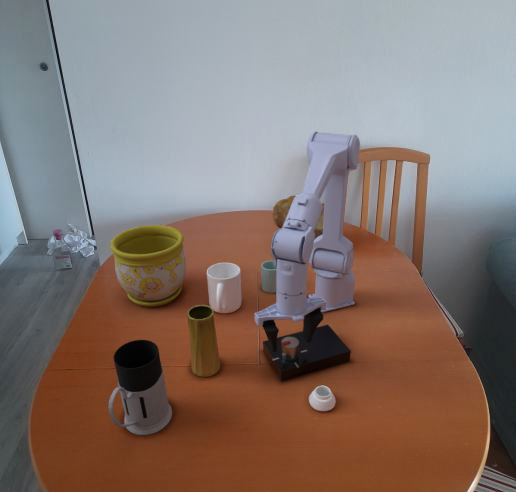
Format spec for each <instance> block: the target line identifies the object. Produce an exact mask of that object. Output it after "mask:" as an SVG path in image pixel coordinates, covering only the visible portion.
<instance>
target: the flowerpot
mask: <svg viewBox="0 0 516 492" xmlns="http://www.w3.org/2000/svg"><path fill="white" fill-rule="evenodd" d="M184 238H185V237H184V234H183V233H182V232H181V230H179V229H177V228H175V227H173V226H169V225H163V224H147V225H140V226H135V227H132V228H129V229H126V230H123V231H121V232H119V233H117V235H115V236H114V237H113V238H112V239H111V241H110V244H109V246H110V250H111V252H112V254H113V255H112V256H113V258H114V268H115V275H116V278H117V281H118V283H119V285H120V286H121V288H122V289H123V290H124V291H125V293H126V294H127V297H128V299H129V300H130V301H131V302H133V303H135V304H136V305H138V306H141V307H147V308H153V307H160V306H164V305H167V304H169V303H171V302H173V301H174V300H175V299H176V298H177V297H178V296H179V295H180V293H181V291H182V289H183V285H182V284H183V283H184V281H185V278H186V272H187V262H186V255H185V251H184V244H183V243H184Z"/></svg>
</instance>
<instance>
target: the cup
mask: <svg viewBox="0 0 516 492" xmlns="http://www.w3.org/2000/svg"><path fill="white" fill-rule="evenodd" d="M260 268H261V269H260V275H261V276H260V277H261V279H260V282H261V284H260V285H261V290H262V291H263V292H265V293H269V294H274V293H275V294H276V272H277V270H276V267H275V266H274V260H273V259H270V260H265V261H263V262H262V263H261V264H260Z"/></svg>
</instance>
